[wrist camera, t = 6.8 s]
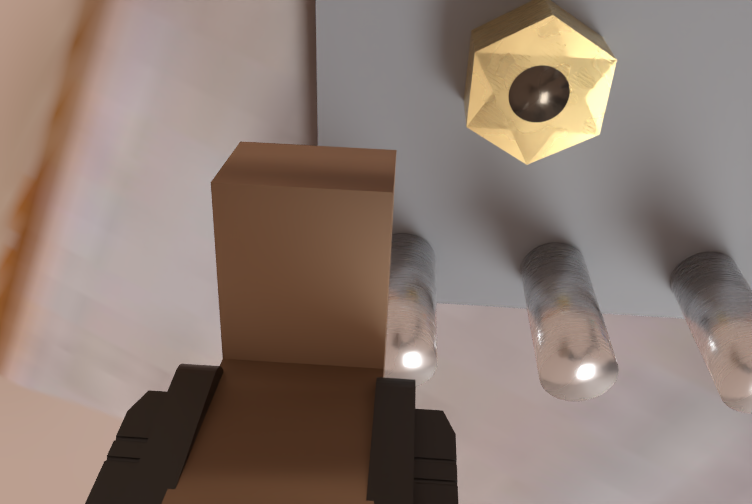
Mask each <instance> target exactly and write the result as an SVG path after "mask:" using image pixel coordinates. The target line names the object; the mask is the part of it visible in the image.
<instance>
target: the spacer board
mask: <svg viewBox="0 0 752 504" xmlns="http://www.w3.org/2000/svg"><path fill="white" fill-rule="evenodd" d="M530 1H532V0H316V59H317V125H318V146H331V147H349V148H368V149H386V150H397V152H396V170H395V189H394V207H393V226H392V234H395V233H411V234H415V235H418V236H420V237H422V238H423V239H425V240H426V241H427V242H428V243H429V244H430V245H431V246H432V248H433V250H434V252H435V257H436V303H445V304H461V305H477V306H493V307H509V308H525V309H527V306H526V301H525V295H524V290H523V284H522V278H521V272H520V268H521V263H522V261H523V259H524V257H525V256H526V255H527V254H528V253H529V252H530V251H531V250H532V249H534V248H535V247H537V246H539V245H541V244H545V243H549V242H563V243H567V244H570V245H572V246H574V247H576V248H577V249H578V250H579V251H580V252H581V253H582V255H583V256H584V259H585V262H586V265H587V268H588V272H589V275H590V278H591V281H592V284H593V288H594V291H595V294H596V297H597V300H598V304H599V307H600V310H601V313H604V314H620V315H635V316H651V317H667V318H683V319H685V318H684V315H683V313H682V311H681V309H680V307H679V304H678V302H677V300H676V298H675V296H674V294H673V291H672V289H671V286H670V279H671V275H672V273H673V271H674V269H675V268H676V267H677V265H678V264H679V263H680V262H682V261H683V260H684V259H686V258H688V257H689V256H691V255H694V254H697V253H700V252H706V251H716V252H721V253H724V254H726V255H728V256H730V257H731V258H732V259H733V260H734V261H735V263H736V264H737V266H738V268H739V269H740V271H741V273H742V274H743V276H744V278H745V279H746V281H747V283H748V284H749V286H750V287H751V289H752V0H551V1H552V2H554V3H555V4H557V5H558V6H559V7H561V8H562V9H564V10H565V11H567V12H568V13H569V14H571V15H572V16H574V17H575V18H576V19H578V20H579V21H581V22H582V23H583V24H585V25H586V26H588V27H589V28H591V29H592V30H593V31H595V32H596V33H598V34H599V35H600V36H602V37H603V38H604V40H605V42H606V43H607V45H608V46H609V48H610V50H611V51H612V53H613V54H614V56H615V58H616V59H617V61H616V65H615V70H614V74H613V78H612V83H611V87H610V91H609V96H608V100H607V104H606V109H605V113H604V117H603V122H602V126H601V130H600V135H597V136H595V137H592V138H590V139H588V140H585V141H583V142H580V143H578V144H576V145H573V146H571V147H568V148H566V149H564V150H561V151H559V152H556V153H554V154H552V155H549V156H547V157H544V158H542V159H540V160H537V161H535V162H532V163H530V164H528V165H526V164H525V163H523V162H522V161H520V160H518V159H517V158H515V157H514V156H512V155H510V154H509V153H507V152H506V151H504V150H502V149H501V148H499V147H498V146H496V145H494V144H493V143H491V142H490V141H488V140H486V139H485V138H483V137H482V136H480V135H478V134H477V133H475V132H473V131H472V130H470V129H469V128H467V127H466V118H465V109H464V94H465V84H466V75H467V66H468V57H469V48H470V39H471V30H473V29H475V28H477V27H479V26H481V25H483V24H485V23H487V22H489V21H491V20H493V19H495V18H497V17H499V16H501V15H503V14H505V13H507V12H509V11H512V10H514V9H516V8H518V7H520V6H522V5H524V4H526V3H528V2H530Z"/></svg>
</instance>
